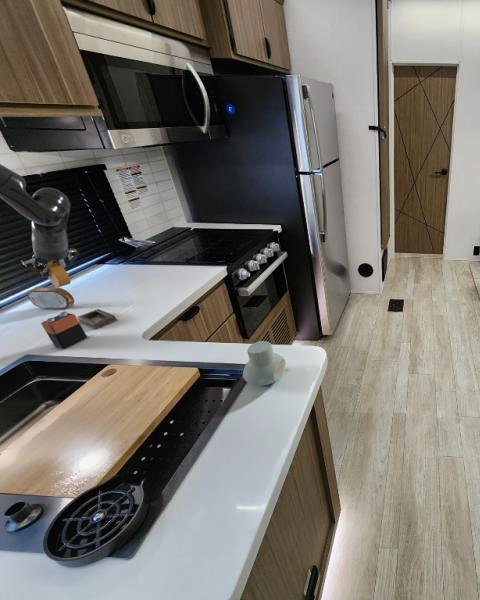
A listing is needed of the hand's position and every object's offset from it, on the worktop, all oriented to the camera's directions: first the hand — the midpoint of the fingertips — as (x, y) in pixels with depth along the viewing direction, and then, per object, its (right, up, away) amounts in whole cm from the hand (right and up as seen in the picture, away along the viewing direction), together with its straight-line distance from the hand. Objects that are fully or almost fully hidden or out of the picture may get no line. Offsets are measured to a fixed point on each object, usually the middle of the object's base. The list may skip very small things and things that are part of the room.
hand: (52, 273), depth 111 cm
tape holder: (+10, -17, +6) cm, 20 cm away
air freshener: (+81, -30, -22) cm, 89 cm away
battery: (+12, -23, -5) cm, 26 cm away
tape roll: (+2, -4, +1) cm, 4 cm away
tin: (-15, -12, +16) cm, 25 cm away
